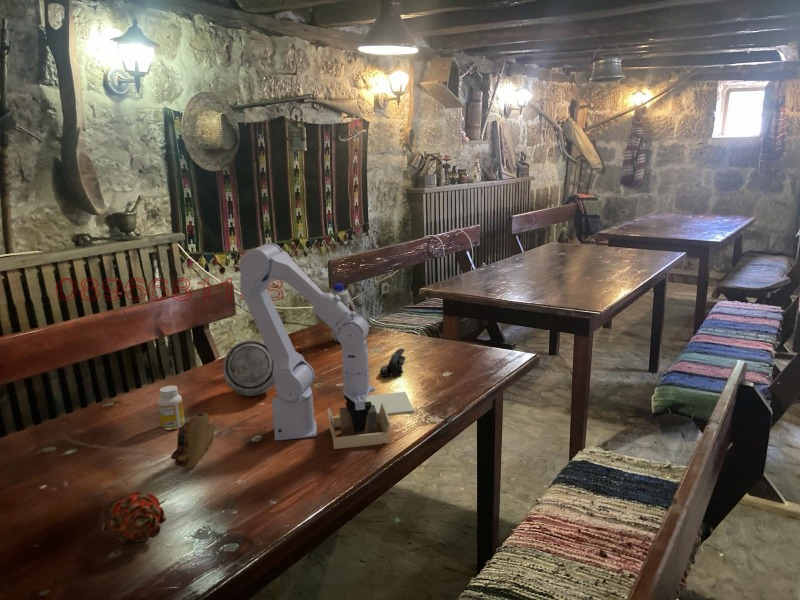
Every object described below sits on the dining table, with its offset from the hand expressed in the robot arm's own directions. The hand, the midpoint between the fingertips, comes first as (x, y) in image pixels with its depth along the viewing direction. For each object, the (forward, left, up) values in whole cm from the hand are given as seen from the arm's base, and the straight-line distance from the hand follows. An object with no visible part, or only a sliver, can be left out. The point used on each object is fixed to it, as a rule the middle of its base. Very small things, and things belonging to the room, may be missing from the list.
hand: (358, 426), depth 138 cm
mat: (+9, +15, -2) cm, 17 cm away
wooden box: (0, 0, -2) cm, 2 cm away
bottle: (+2, +72, -2) cm, 72 cm away
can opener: (+15, +40, -2) cm, 43 cm away
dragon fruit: (-41, -29, -2) cm, 51 cm away
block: (0, 0, -2) cm, 2 cm away
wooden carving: (-35, -4, -2) cm, 36 cm away
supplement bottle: (-43, +15, -2) cm, 46 cm away
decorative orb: (-25, +31, -2) cm, 40 cm away
